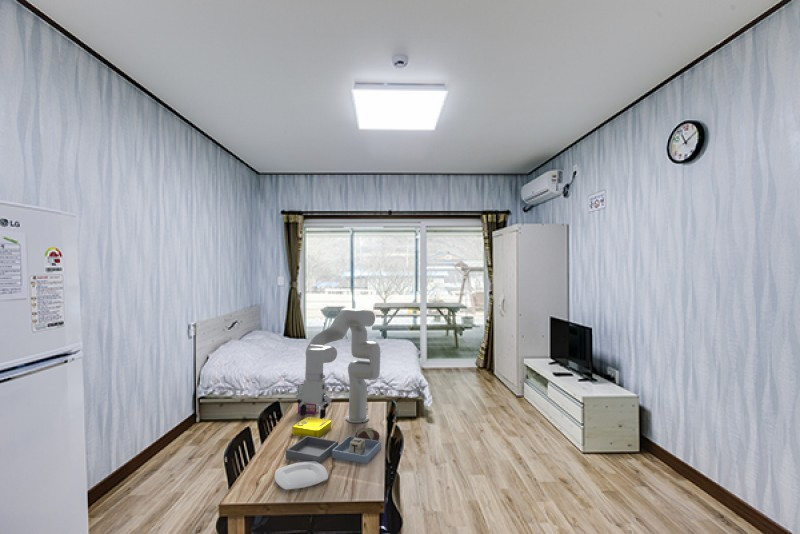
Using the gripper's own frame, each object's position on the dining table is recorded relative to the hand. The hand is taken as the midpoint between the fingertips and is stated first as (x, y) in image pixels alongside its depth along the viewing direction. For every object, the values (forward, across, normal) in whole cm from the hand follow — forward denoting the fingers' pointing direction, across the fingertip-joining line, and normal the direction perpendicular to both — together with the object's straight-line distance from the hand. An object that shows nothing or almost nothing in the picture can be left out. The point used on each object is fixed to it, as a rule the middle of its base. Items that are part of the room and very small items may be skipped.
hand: (312, 416), depth 168 cm
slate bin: (+16, -18, -8) cm, 25 cm away
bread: (+16, -16, -24) cm, 33 cm away
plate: (+17, -7, +18) cm, 26 cm away
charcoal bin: (+16, 0, -1) cm, 16 cm away
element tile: (+16, +14, -23) cm, 31 cm away
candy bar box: (+16, +31, -46) cm, 57 cm away
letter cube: (+16, -18, -8) cm, 25 cm away
